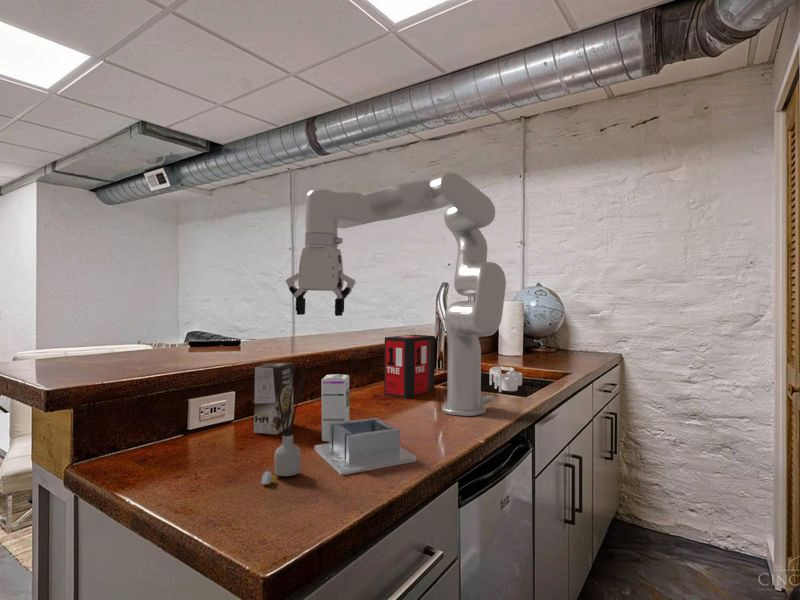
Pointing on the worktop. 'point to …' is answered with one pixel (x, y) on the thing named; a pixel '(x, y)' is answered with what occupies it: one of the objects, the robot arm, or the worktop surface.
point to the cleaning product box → (408, 365)
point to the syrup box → (334, 402)
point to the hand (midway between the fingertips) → (319, 315)
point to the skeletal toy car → (505, 378)
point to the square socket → (363, 446)
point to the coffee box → (272, 397)
